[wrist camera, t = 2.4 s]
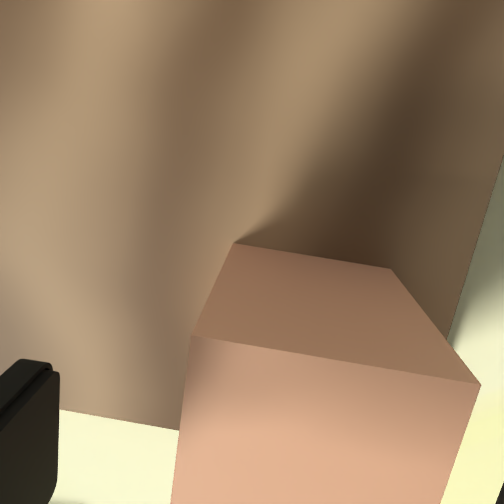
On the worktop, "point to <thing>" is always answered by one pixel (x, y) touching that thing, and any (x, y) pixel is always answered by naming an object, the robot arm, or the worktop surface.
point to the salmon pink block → (317, 388)
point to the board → (228, 167)
